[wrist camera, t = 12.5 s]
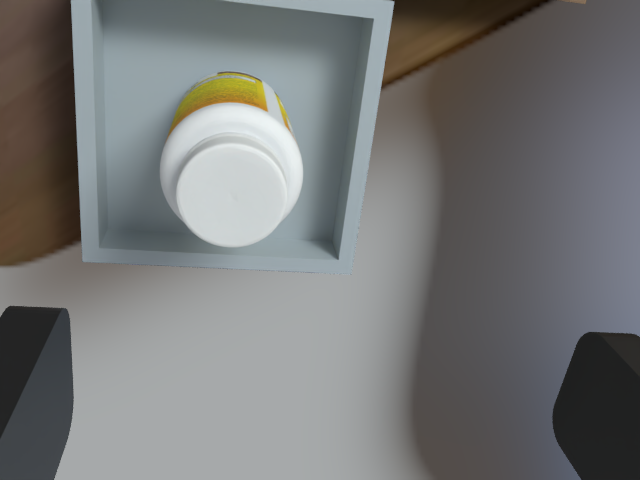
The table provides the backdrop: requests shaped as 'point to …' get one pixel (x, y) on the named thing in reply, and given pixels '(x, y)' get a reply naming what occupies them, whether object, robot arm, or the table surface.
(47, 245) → the table surface
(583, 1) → the corral
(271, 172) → the supplement bottle
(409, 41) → the table surface
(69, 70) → the table surface
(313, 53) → the bin
